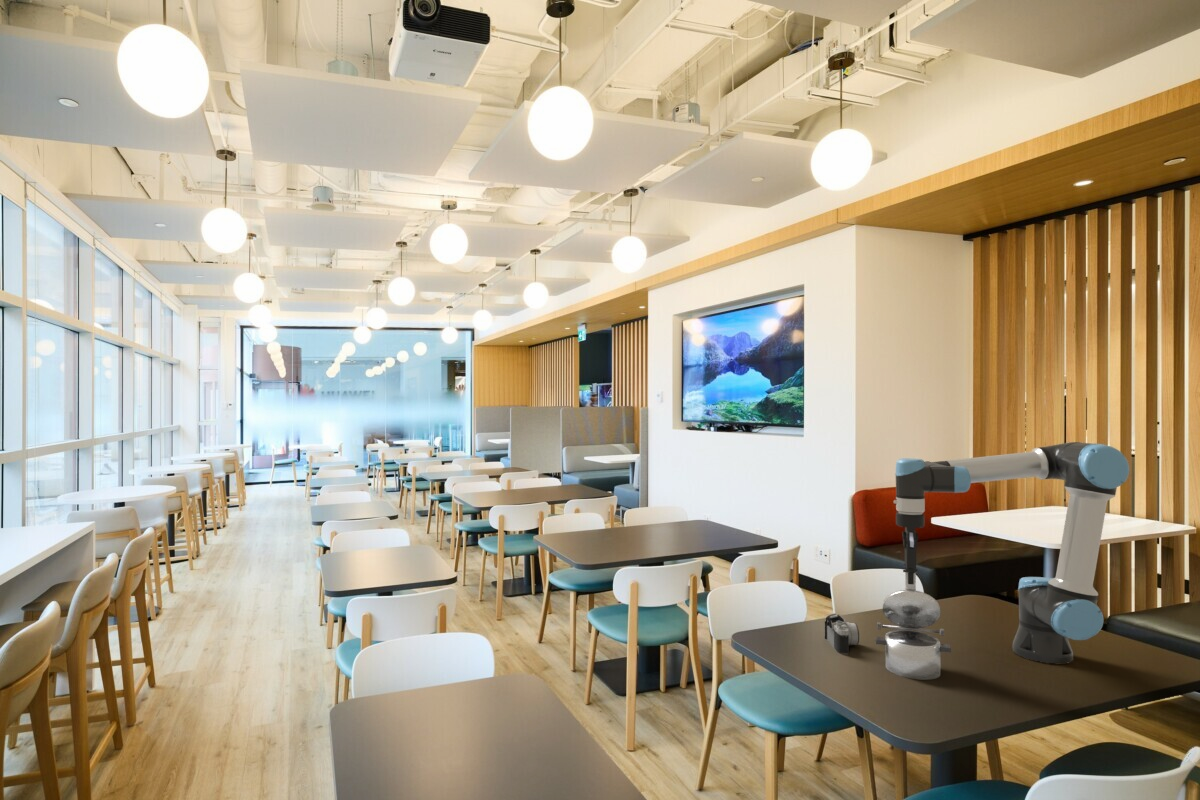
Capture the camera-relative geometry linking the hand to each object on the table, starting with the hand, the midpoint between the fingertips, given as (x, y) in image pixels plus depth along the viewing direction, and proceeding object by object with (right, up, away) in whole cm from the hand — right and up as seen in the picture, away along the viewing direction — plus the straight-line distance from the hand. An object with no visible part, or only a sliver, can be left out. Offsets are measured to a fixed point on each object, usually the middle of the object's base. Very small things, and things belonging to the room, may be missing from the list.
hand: (910, 594), depth 193 cm
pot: (-1, -21, -4) cm, 21 cm away
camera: (-14, -21, +15) cm, 29 cm away
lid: (0, -5, -1) cm, 5 cm away
